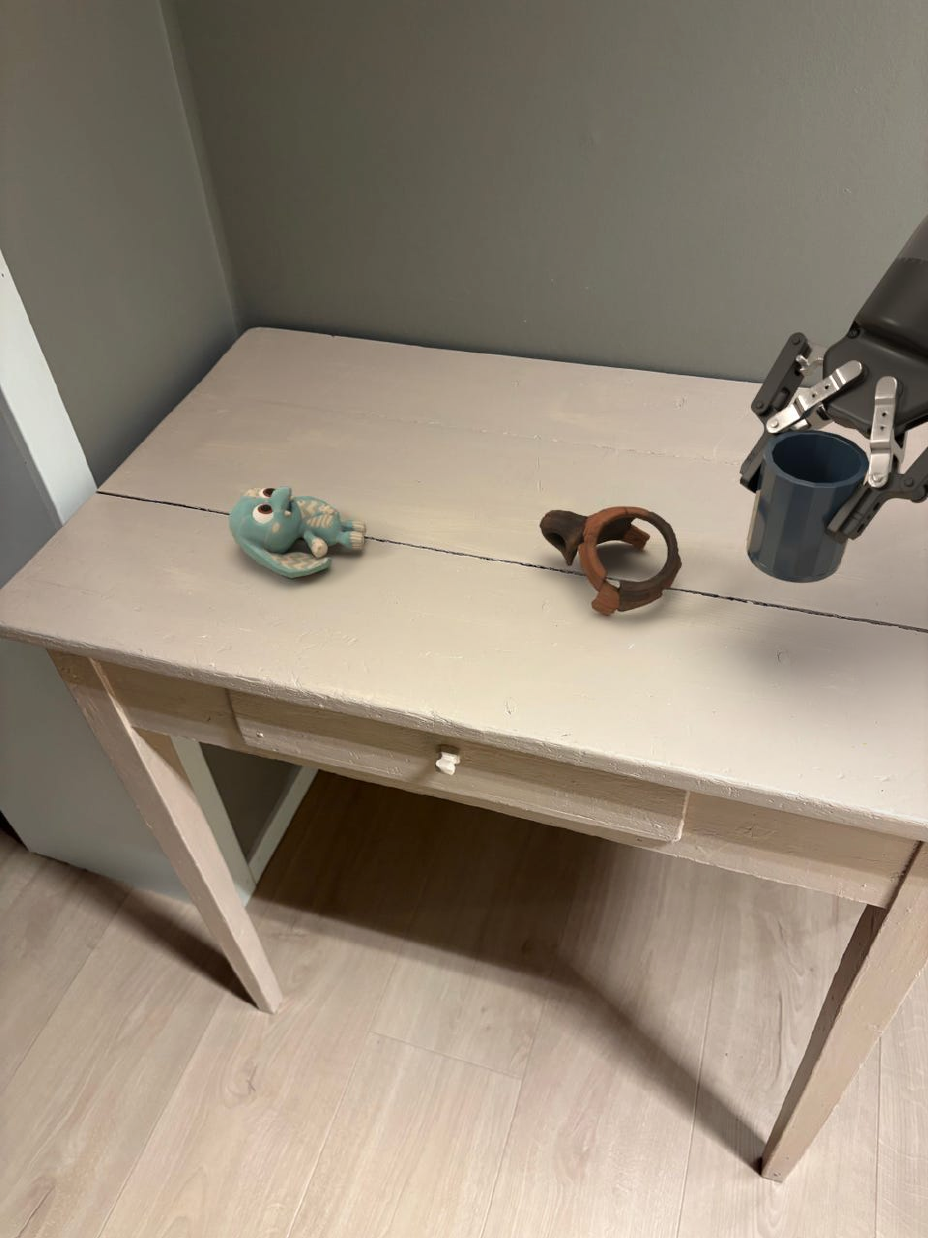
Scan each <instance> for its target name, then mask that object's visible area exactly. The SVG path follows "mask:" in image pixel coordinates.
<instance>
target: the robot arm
mask: <svg viewBox="0 0 928 1238" xmlns="http://www.w3.org/2000/svg"><path fill="white" fill-rule="evenodd" d="M821 366H822V375H821V376H822V378H821V379H822V380H821V381H819V382H818V383H816V384H814V385H813V386H811V387H810V388H808V389H807V390H805V391H803V392H802V393H800V394H799V395H797V396H796V397H795V395H796V393H797V391H798V390H799V388H800V386H801V384H802V382H803V381H804V379H805V377H808V376H812V375H813V374H814V373H815V371H816V370H817V369H818V368H819V367H821ZM794 397H795V399H794V401H793V402H792V400H793V398H794ZM791 402H792V404H790V403H791ZM750 410H751V411H752V412H753V414H755V416H756V417H757V418H758V419H759V421H760V422H761V424H762V425H763V432H762V434H761V436H760V437H759V439H758V440H757V442H756V443H755V445H754V446H753V448H752V449H751V450H750V452H749V454H748V455H747V456H746V458H745V459H744V461H743V462H742V464H741V466H740V469H739V474H741V476H740V479H739V484H740V485H741V486H743V487H744V488H745V489H746V490H748V491H749V492H751V493H753V494H755V495H756V490H757V485H758V480H759V475H760V470H761V465H762V460H763V454H764V451H765V449H766V447H767V445H768V443H769V442H770V441H771V440H773V439H774V438H776V437H778V436H779V435H781V434H783V433H788V432H792V431H796V430H818V431H819V430H821V429H823V428H825V427H827V426H828V425H830V424H832V423H833V422H834V424H837V425H838V426H841V427H843V428H845V429H850V430H855V431H857V432H858V433H859V434H860V435H861V436H862V437H863V438H864V439H866V440H868V441H869V450H870V455H869V470H868V474H867V477H866V481H865V484H864V485H863V484H861V483H859V484H858V485H857V487H856V488H855V489H854V491H853V492H852V494H851V495H850V496H849V497H848V499H847V500H846V502H845V503H844V504H843V506H842V507H841V509H840V510H839V511H838V513H837V514H836V516H835V517H834V518H833V520H832V521H831V522H830V524H829V525H828V527H827V528H826V531H825V534H826V535H827V536H828V537H830V538H831V539H832V540H834V541H835V542H837V543H839V544H841V545H842V544H844V543H845V542H846V541H847V540H848V541H849V540H851V541H855V540H856V539H858V538H859V537H861V536H862V534H863V533H864V531H865V530H866V528H867V527H868V526H869V525H870V523H871V522H872V520H873V519H874V518H875V517H876V515H877V513H878V512H879V511H880V510H881V509H882V508H883V505H884V504H885V503H887V502H888V501H890V500H892V499H899V500H907V501H910V502H911V503H913V504H921V503H923V502H925V501H926V500H927V499H928V446H926V447H925V449H924V450H923V451H922V452H921V453H920V455H919V456H918V457H917V458H916V459H915V460H914V461H913V462H912V464H911V465H910V466H909V468H907V470H906V471H905V472H904V473H901V468H902V464H903V463H904V461H905V455H906V448H907V442H908V441H907V440H908V433H909V431H911V430H913V429H915V428H918V427H920V426H922V425H924V424H926V423H928V214H926V216H925V217H924V218H923V219H922V220H921V221H920V222H919V224H918V225H917V227H916V228H915V230H914V231H913V232H912V234H911V235H910V237H909V238H908V239H907V241H906V242H905V244H904V245H903V247H902V248H901V250H900V251H899V252H898V254H897V255H896V257H895V258H894V260H893V261H892V263H891V264H890V266H889V267H888V269H887V270H886V272H885V273H884V275H883V276H882V277H881V278H880V280H879V282H878V283H877V285H876V286H875V287H874V289H873V290H872V292H871V293H870V294H869V296H867V298H866V300H865V302H864V303H863V304H862V306H861V307H860V308H859V311H858V312H857V313H856V315H855V316H854V318H853V320H852V322H851V324H850V327H849V328H848V331H847V333H846V334H845V335H844V336H843V337H841V339H839V340H838V341H837V342H835V343H833V344H832V345H831V346H826V345H823V344H819V343H816V342H813V341H810V340H809V338H808V337H807V336H806V335H805V334H804V333H803V332H802V331H801V332H799V331H797V332H794V333H792V334H791V335H790V336H789V337H788V339H787V340H786V343H785V344H784V346H783V348H782V349H781V351H780V353H779V355H778V356H777V358H776V360H775V361H774V364H773V365H772V367H771V369H770V370H769V372H768V374H767V376H766V378H765V379H764V381H763V383H762V384H761V386H760V387H759V390H758V392H756V395H755V397H754V398H753V400H752V402H751V404H750ZM848 538H849V539H848Z"/></svg>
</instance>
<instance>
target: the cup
mask: <svg viewBox="0 0 928 1238" xmlns="http://www.w3.org/2000/svg"><path fill="white" fill-rule="evenodd" d="M869 463H870V459H869V457H868V454H867V452H866V451H865V450H864V449H863V448H862V447H860V446H859V445H858V444H857V442H855V441H853V440H851V439H849V438H847V437H845V436H843V435H840V434H839V433H833V432H829V431H824V430H821V429H819V430H796V431H792V432H788V433H783V434H781V435H779V436H778V437H776V438H774V439H773V440H771V441H770V442H769V443H768V445H767V447H766V449H765V451H764V454H763V460H762V465H761V470H760V475H759V480H758V485H757V490H756V494H755V496H754V501H753V506H752V511H751V517H750V521H749V526H748V531H747V537H746V547H745V548H746V554H747V557H748V559H749V561H750V562H751V563H752V564H753V565H754V566H755V568H756V569H758V570H759V571H761V572H762V573H764V574H765V575H767V576H769V577H771V578H773V579H776V580H779V581H782V582H786V583H794V584H810V583H811V584H812V583H816V582H820V581H823V580H826V579H828V578H830V577H831V576H833V575H834V574H836V573H837V572H838V570H839V568H840V566H841V564H842V561H843V558H844V555H845V553H846V549H847V545H848V542H849V540H850V539H849V538H848V540H847V541H846V542H845V543H844V544H842V545H841V544H839V543H837V542H835V541H834V540H832V539H831V538H830V537H828V536H827V535H826V534H825V531H826V528H827V527H828V525H829V524H830V522H831V521H832V520H833V518H834V517H835V516H836V514H837V513H838V511H839V510H840V509H841V507H842V506H843V504H844V503H845V502H846V500H847V499H848V497H849V496H850V495H851V494H852V492H853V491H854V489H855V488H856V487H857V485H858V484H859V483H861V484H863V485H864V484H865V483H866V482H867V477H868V470H869Z"/></svg>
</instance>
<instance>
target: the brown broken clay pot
mask: <svg viewBox="0 0 928 1238" xmlns="http://www.w3.org/2000/svg"><path fill="white" fill-rule="evenodd" d="M637 519H638V520H641V521H642V522H643V521H644V522H647V523H649V524H650V525H651V526H653V527H655V528H656V530H657V531H658V532H659V533H660V534H661V536H662V537H663V539H664V542H665V545H666V548H667V549H666V550H667V552H666V560H665V562H664V565H663V567H662V568H661V570H660V571H659V572H658V573H656V574H655V575H653V576H652V577H650V578H648V579H645V580H642V581H627V580H626V581H625V580H621V579H620V580H619V583H618V584H619V586H618V587H617V586H616V585H613V584H611V582H609V581H608V580H607V576H608V574H609V572H608V571H607V570H606V569H605V567H604V565H603V564H602V563H601V561H600V559H599V555H598V550H597V546H598V545H601V544H604V543H608V542H623V543H625V544H628V545H630V546H633V547H635V548H637V549H638V550H640V551H641V550H644V549H645V547H646V545H647V543H648V542H649V541H650V539H651V535H650V534H649V533H647V532H646V531H644V530H642V529H640V528H639V527H638V526H636V525H635V524H633V522H634V521H635V520H637ZM539 528H540V532H541V534H542V536H543V538H544V539H545V540H546V541H547V542H548V543H549V544H550V545H551V546H552V547H554V548H555V549H556V550H557V551H559V552H560V553H561V555H562V557H563V559H564V562H565V564H566V565H567V567H570V566H571V567H572V566H573V563H574V560H575V559H576V557H577V555H578V558H579V562H580V565H581V567H582V570H583V572H584V574H585V576H586V578H587V580H588V582H589V583H590V585H591V586H592V587H593V589H594V590H595V591H596V592H597V594H596V596H595V598H594V600H592V601H591V608H592V610H594V611H596V612H598V613H600V614H602V615H604V616H610V615H614V614H615V613H616V611H617V612H619V613H624V612H627V611H633V610H636V609H639V608H642V607H645V606H647V605H650V604H651V603H652V604H653V602H655V601H657V600H659V599H661V598H662V597H663V595H664V592H663V591H668V590H669V589H671V587H672V586H673V584H674V582H675V579H676V578H677V575H678V573H679V571H680V570H681V568H682V567H683V562H682V558H681V556H680V553H679V551H680V550H679V549H680V548H679V545H678V540H677V536H676V533H675V531H674V529H673V527H672V525H671V524H670V523H669V522H668V521H666V520H665V519H664V518H663V517H662V516H660V515H659V514H657V513H656V512H655V511H650V510H648V509H646V508H642V507H639V506H628V505H619V506H610V507H607V508H603V509H601V510H599V511H598V512H595V513H592V514H590V515H582V514H580V513H576V512H573V511H571V510H563V509H551V510H550V511H548V512H546V513H545V514H544V516H542V518H541V520H540V522H539Z"/></svg>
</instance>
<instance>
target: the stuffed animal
mask: <svg viewBox="0 0 928 1238" xmlns="http://www.w3.org/2000/svg"><path fill="white" fill-rule="evenodd" d="M292 491H293V489H292V487H291V486H285V485H284V486H279V487H273V486H272V487H260V488H258V487H251V488H250V489H248V490H247V491H246V493H245V494H243V496H241V498H240V499H239V500H238V501H237V502H236V503H235V504H234V506H233V507H232V508H231V510H230V512H229V515H228V528H229V531H230V534H231V537H232V538H233V541H234V542H235V544H236V546H238V548H240V549H241V550H242V551H243V552H244V554H245V553H246V555H247V556H248V557H250V558H251V559H252V560H254V561H255V562H256V563H257V564H259V565H261V566H264V567H265V568H267V569H269V570H270V571H272V572H274V573H275V574H277V575H279V576H284V577H287V578H290V579H294V578H300V577H305V576H311V575H313V574H316V573H317V572H320V571H322V570H325V569H327V568H328V567H330V566H331V564H332V559H331V558H330V557H329V556H326V555H327V553H328V550H329V547H333V546H336V544H340V545H342V546H344V547H346V548H347V549H351V550H361V549H362V548H363V547H364V545H365V535H366V533H367V529H368V528H367V524H366V523H365V521H362V520H359V519H350V520H349V519H348V520H346V521H341V515H340V512H339V510H337V509H336V508H334V506H332V505H331V504H329V503H328V502H327V501H325V500H322V499H320V498H316V497H314V496H310V495H304V496H303V495H301V496H296V495H294V494H293V492H292ZM301 538H303V540H304V541H305V543H307V546H308V547H309V549H310V551H311V553H306V552H301V551H294V552H288V550H289V549H290V548H291V547H292V546H293V545H294V543H295V542H296V541H297V540H298V539H301ZM286 552H287V553H286Z"/></svg>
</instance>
